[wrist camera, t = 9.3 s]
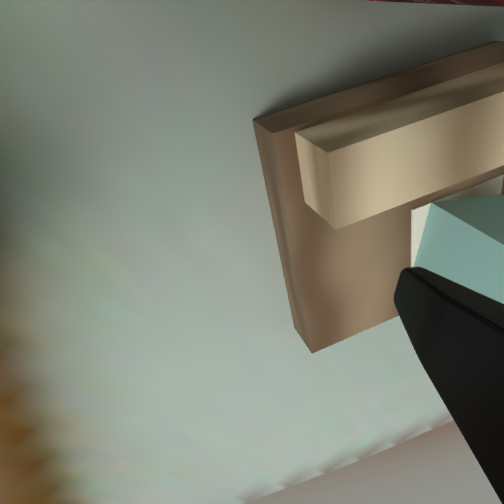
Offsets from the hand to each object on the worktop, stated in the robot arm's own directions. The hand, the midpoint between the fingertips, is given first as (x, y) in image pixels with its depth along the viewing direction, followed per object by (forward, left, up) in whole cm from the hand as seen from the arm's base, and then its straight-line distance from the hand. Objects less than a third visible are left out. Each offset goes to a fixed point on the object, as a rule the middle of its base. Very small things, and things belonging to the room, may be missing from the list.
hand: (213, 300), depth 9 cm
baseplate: (+12, -8, -12) cm, 19 cm away
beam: (+12, -3, -10) cm, 16 cm away
